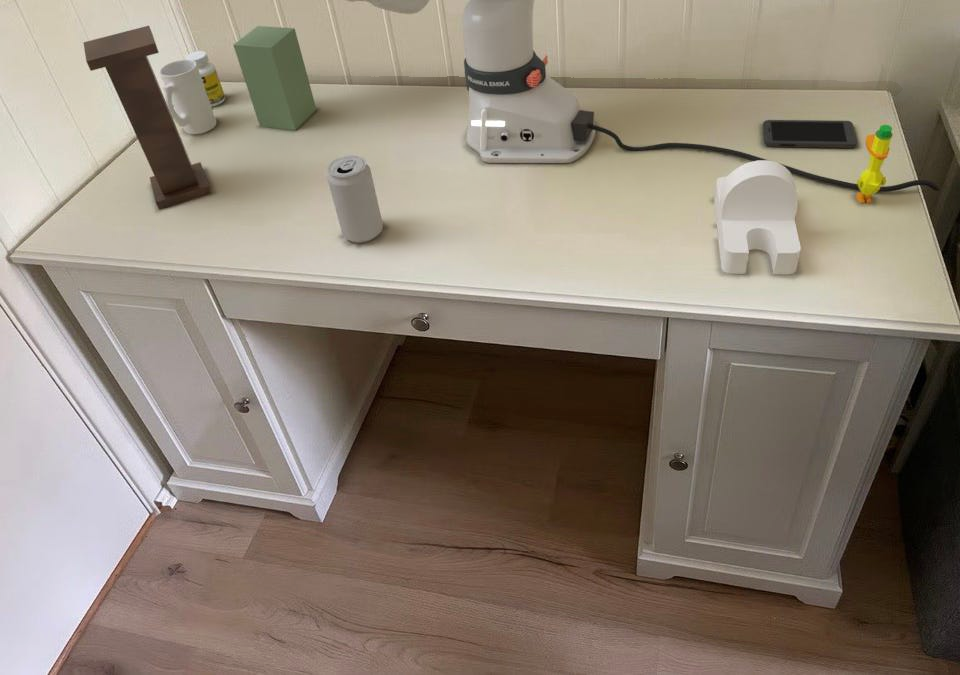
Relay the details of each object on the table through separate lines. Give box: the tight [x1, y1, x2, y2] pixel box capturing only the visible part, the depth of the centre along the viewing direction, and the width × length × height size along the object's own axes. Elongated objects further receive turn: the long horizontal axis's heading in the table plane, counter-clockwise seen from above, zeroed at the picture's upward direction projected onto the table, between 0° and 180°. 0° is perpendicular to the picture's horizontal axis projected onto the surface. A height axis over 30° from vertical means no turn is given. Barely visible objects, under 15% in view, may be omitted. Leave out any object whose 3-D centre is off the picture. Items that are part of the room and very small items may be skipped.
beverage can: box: [326, 155, 384, 244], centre depth 117 cm, size 6×6×12 cm
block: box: [233, 25, 317, 131], centre depth 145 cm, size 8×8×16 cm
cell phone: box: [762, 119, 858, 149], centre depth 127 cm, size 7×14×1 cm, turn 78°
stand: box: [82, 25, 212, 210], centre depth 127 cm, size 10×9×26 cm
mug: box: [158, 58, 217, 135], centre depth 147 cm, size 10×7×12 cm, turn 165°
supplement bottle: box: [185, 50, 226, 108], centre depth 156 cm, size 5×5×10 cm
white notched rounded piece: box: [713, 159, 802, 276], centre depth 107 cm, size 10×18×11 cm, turn 171°
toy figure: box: [855, 124, 893, 204], centre depth 110 cm, size 7×4×12 cm, turn 176°
